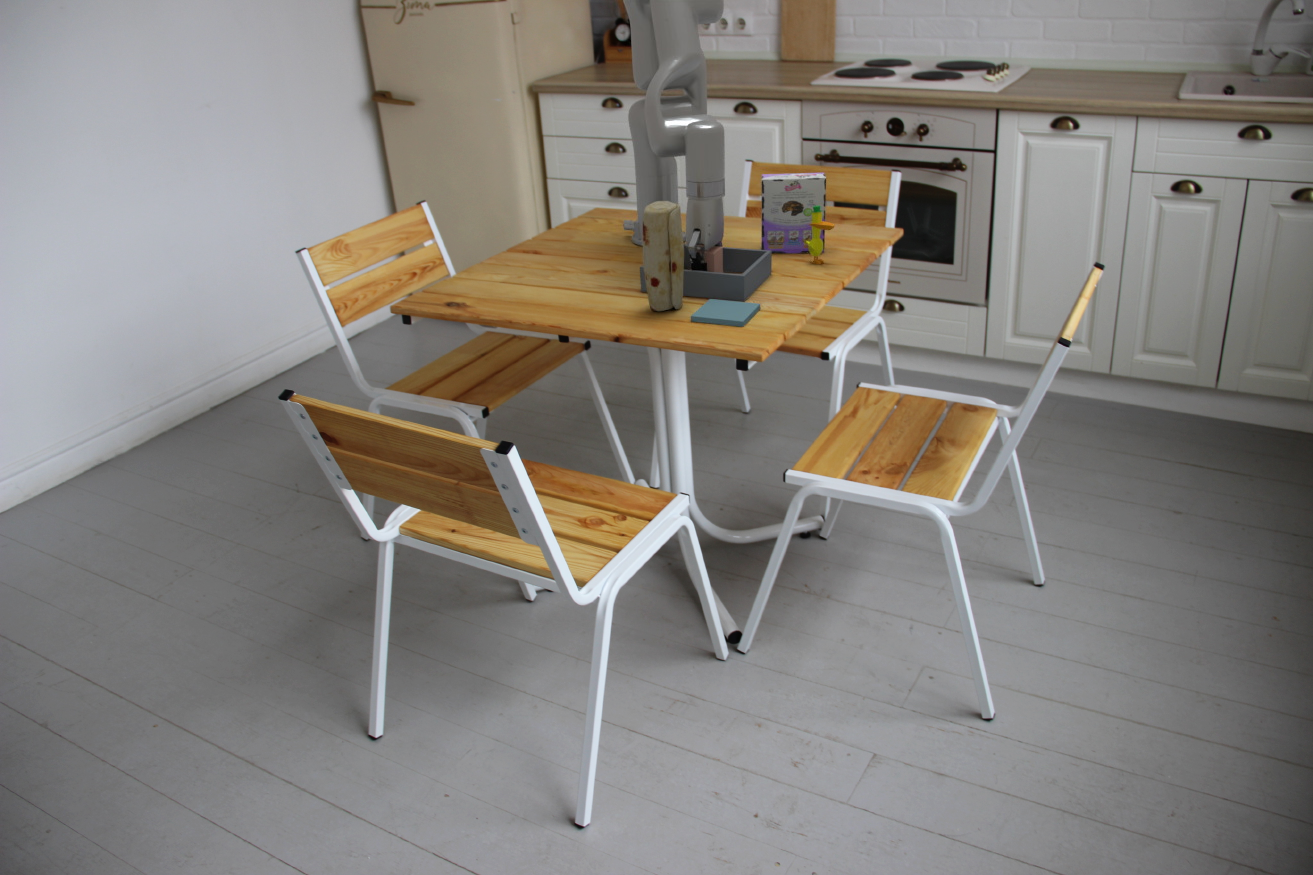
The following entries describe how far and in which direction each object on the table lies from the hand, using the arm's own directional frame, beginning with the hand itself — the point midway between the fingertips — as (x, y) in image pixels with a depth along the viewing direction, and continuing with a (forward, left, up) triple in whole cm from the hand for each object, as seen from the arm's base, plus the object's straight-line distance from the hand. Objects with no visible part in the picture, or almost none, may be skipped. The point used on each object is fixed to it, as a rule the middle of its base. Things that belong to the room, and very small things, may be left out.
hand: (707, 275), depth 196 cm
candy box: (+10, +27, -2) cm, 29 cm away
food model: (-2, -16, -2) cm, 17 cm away
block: (0, 0, -2) cm, 2 cm away
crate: (0, 0, -2) cm, 2 cm away
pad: (+10, -17, -2) cm, 20 cm away
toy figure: (+18, +19, -2) cm, 26 cm away
